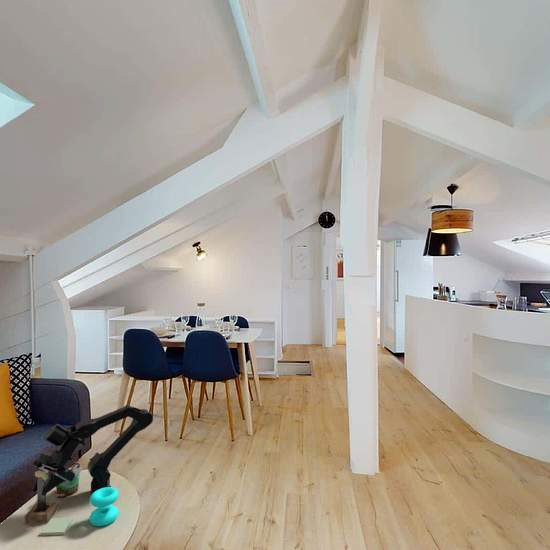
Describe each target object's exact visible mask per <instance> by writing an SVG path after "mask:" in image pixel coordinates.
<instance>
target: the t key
mask: <svg viewBox="0 0 550 550" xmlns="http://www.w3.org/2000/svg"><path fill="white" fill-rule="evenodd" d="M49 474H50V473H49V472H48V473H45V472H43V471H40V470H39V471H35V472H34V477H36V480H37V491H36V493H37V497H36V499H37V500H36V503H37V511H43V510H45V509H46V502H47V494H45V495H44V496H43V495H42V493H43V491H44V489H45V487H46V486H47V484H48V483H47V482H48V480H50V477H49ZM37 477H38V479H37Z"/></svg>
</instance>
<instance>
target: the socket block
mask: <svg viewBox="0 0 550 550" xmlns="http://www.w3.org/2000/svg"><path fill="white" fill-rule="evenodd" d="M58 511H59V502H58V501H54V502H53V501H51V502H47V501H46V509H45V510H43V511H37V502H36V503H35V504H34V505H33V506H32V507H31V508H30V509H29V510H28V511H27V512H26V514H25V515H24V524H25V525H27V524H28V525H29V524H31V525H32V524H48V522H49V521H50V520H51V519H52V518H53V517H54V515H55V514H56V513H57V512H58Z"/></svg>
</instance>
